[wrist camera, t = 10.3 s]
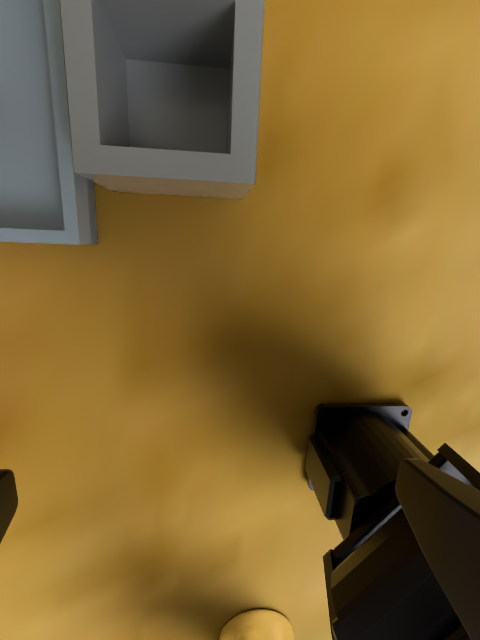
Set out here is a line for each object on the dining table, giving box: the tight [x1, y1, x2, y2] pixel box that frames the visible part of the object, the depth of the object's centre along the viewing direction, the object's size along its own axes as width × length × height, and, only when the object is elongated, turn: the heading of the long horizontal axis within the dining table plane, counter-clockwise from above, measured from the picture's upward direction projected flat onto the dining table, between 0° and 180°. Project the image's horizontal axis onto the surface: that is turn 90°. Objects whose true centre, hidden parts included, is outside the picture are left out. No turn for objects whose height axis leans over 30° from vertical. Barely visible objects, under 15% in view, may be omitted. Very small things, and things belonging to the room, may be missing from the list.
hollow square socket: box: [60, 0, 264, 199], centre depth 14 cm, size 7×7×5 cm
